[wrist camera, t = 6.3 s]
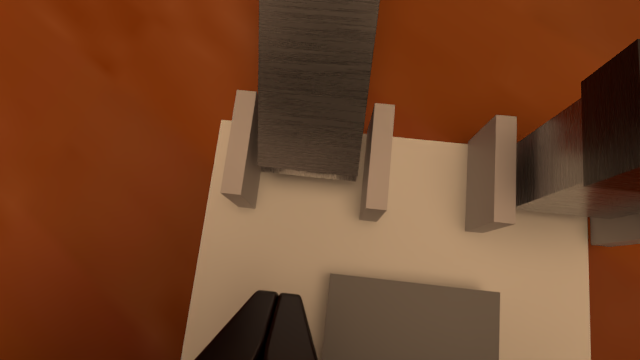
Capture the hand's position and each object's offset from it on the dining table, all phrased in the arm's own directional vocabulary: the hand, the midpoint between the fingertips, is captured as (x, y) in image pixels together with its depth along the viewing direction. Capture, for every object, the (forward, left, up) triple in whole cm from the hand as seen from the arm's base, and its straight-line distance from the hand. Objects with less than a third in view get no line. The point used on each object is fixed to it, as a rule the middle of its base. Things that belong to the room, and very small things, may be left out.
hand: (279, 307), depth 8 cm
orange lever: (+4, +2, -5) cm, 6 cm away
